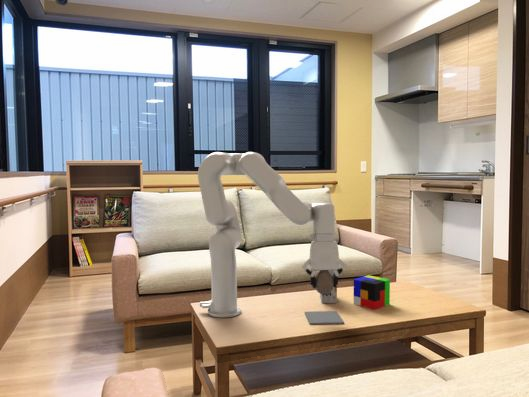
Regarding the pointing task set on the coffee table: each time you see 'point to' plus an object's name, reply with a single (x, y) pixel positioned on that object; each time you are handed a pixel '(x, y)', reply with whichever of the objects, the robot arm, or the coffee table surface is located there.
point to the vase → (324, 282)
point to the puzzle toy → (371, 292)
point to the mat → (323, 317)
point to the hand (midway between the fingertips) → (324, 286)
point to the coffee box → (330, 294)
